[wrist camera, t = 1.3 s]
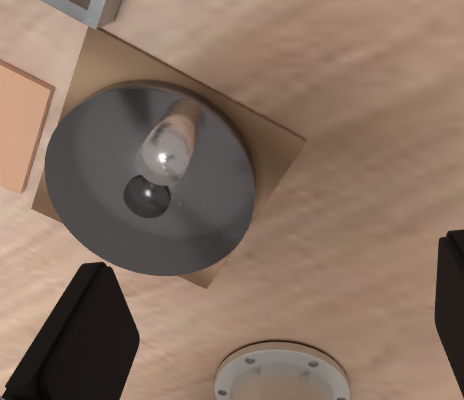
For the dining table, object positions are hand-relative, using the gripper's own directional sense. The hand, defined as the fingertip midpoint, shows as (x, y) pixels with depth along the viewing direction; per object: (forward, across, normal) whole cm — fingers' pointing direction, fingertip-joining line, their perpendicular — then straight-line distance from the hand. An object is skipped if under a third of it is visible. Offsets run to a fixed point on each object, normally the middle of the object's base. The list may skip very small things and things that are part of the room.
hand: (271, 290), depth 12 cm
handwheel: (+18, +9, +5) cm, 21 cm away
